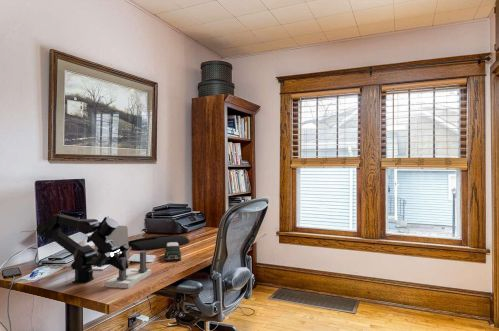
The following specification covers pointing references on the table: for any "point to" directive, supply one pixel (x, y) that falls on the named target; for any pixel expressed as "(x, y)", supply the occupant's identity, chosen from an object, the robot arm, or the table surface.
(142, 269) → the on breaker
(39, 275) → the table surface
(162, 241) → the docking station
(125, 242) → the electrical switch box
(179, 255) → the miniature car
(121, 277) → the lever
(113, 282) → the breaker panel
